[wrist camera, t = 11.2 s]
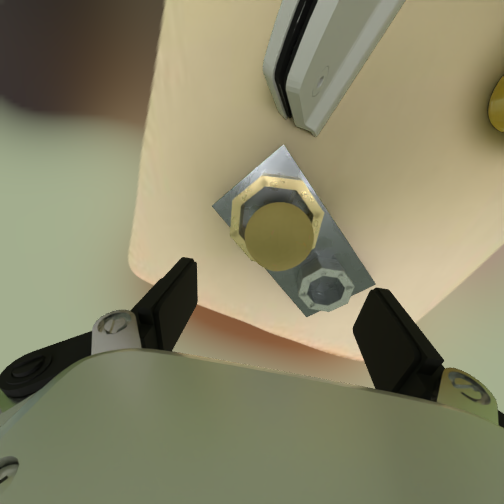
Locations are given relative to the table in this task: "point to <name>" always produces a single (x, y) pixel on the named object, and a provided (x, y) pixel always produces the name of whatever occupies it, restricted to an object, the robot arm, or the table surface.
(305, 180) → the fitting plate
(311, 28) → the white rounded block
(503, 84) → the plant pot
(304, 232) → the light bulb
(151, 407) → the robot arm
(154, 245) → the table surface
